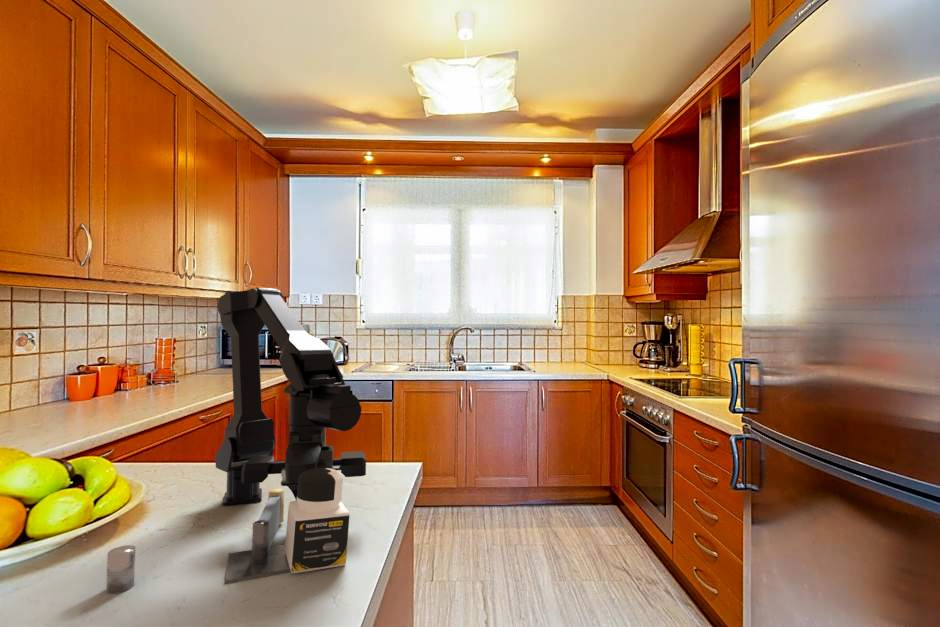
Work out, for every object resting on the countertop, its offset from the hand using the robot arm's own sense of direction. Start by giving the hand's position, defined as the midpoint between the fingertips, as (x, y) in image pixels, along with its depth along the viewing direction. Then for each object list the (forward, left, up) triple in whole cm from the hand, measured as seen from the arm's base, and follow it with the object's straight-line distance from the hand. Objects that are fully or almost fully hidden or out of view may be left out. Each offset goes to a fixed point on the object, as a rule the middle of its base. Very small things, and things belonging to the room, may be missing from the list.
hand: (305, 520), depth 77 cm
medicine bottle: (+12, 0, -1) cm, 12 cm away
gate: (+2, -5, -1) cm, 6 cm away
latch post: (+10, -23, -1) cm, 25 cm away
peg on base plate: (+10, -7, -1) cm, 12 cm away
